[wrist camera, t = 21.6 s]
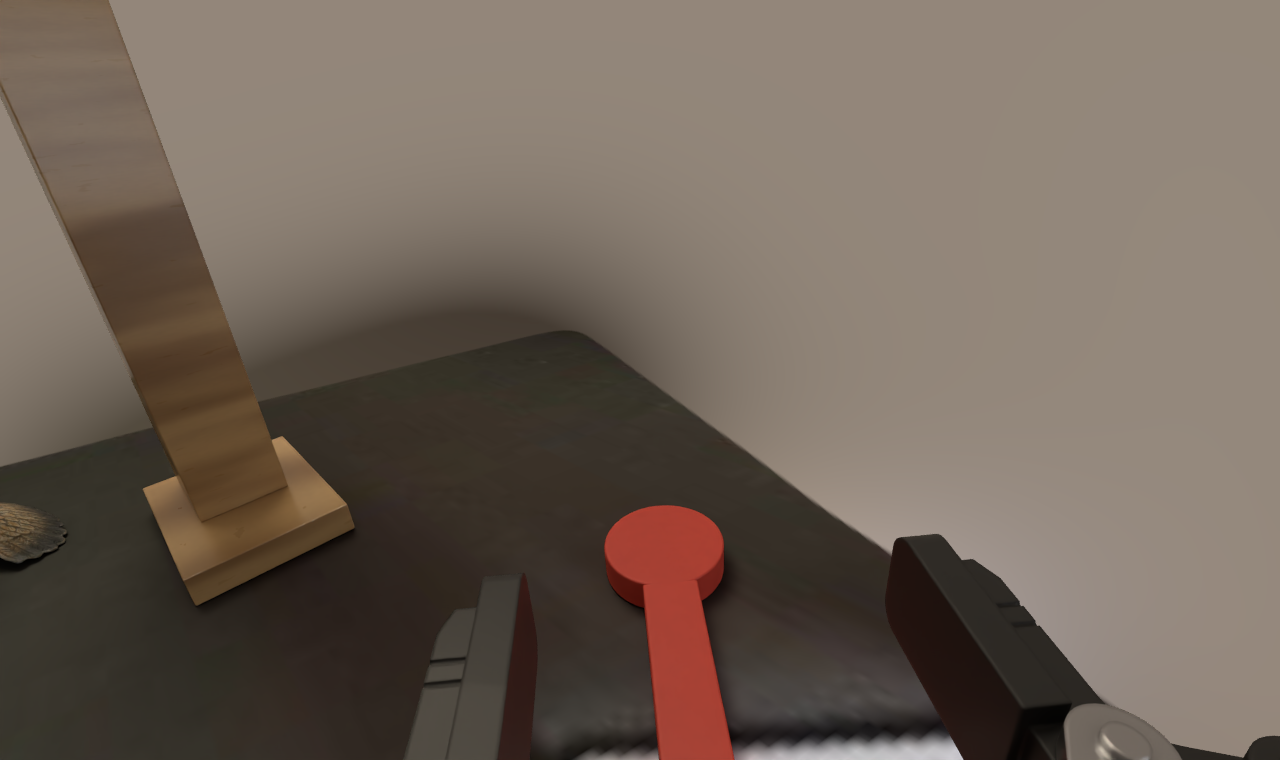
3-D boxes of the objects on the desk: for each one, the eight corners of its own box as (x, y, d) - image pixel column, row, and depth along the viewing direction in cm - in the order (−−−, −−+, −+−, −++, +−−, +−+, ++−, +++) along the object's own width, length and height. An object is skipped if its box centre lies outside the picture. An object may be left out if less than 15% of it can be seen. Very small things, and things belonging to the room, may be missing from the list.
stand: (355, 528, 31) (59, -382, 17) (195, 606, 27) (-367, -515, 13) (290, 456, 38) (37, -245, 24) (153, 510, 34) (-252, -304, 20)
